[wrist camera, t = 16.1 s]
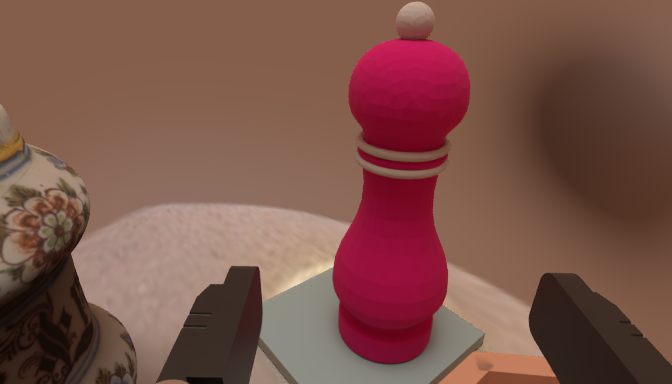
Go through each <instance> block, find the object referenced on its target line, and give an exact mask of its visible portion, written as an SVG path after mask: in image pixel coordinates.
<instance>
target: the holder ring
mask: <svg viewBox="0 0 672 384" xmlns="http://www.w3.org/2000/svg"><path fill="white" fill-rule="evenodd" d="M438 384H560V382H559V381H558V379H557V377H556V376H555V374H554V372H553V371H552V369H551V367H550V365H549V364H548V362H547V360H546V359H545V357H534V356H522V355H511V354H499V353H487V352H476V351H473V352H472V353H471V354H470V355H469V356H468V357H467V358H466V359H465V360H464V361H462V362H461V363H460V364H459V365H458V366H457V367H456V368H455V369H454V370H453V371H451V372H450V373H449V374H448V375H447V376H446V377H445V378H444V379H443V380H442V381H440V382H439V383H438Z"/></svg>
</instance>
